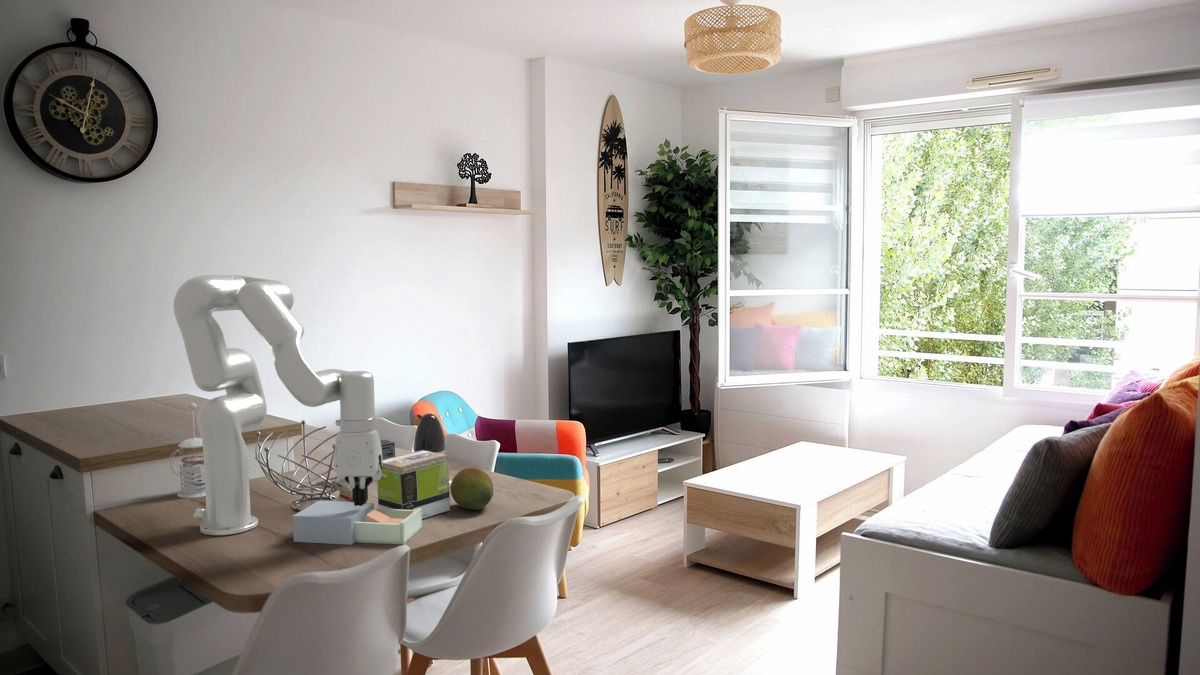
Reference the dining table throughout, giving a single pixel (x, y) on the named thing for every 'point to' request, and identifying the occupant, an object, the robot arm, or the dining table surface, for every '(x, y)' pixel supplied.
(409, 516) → the bin
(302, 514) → the light blue drawer case
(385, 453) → the small box
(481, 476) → the fruit
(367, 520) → the orange wooden cube
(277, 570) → the dining table surface
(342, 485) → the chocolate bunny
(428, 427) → the black rounded cone
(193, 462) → the french press
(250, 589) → the dining table surface
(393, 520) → the peach orange cube
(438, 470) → the tea box
